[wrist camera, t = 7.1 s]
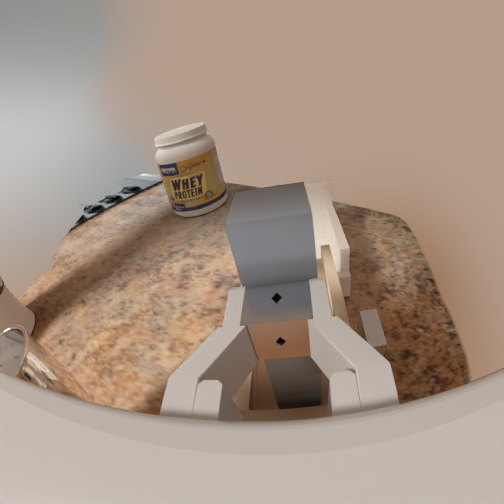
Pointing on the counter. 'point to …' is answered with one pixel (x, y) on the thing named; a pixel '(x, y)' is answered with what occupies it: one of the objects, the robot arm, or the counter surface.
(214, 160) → the supplement tub
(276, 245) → the lever
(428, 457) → the robot arm
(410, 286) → the counter surface
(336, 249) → the cream open-top tray
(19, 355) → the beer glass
